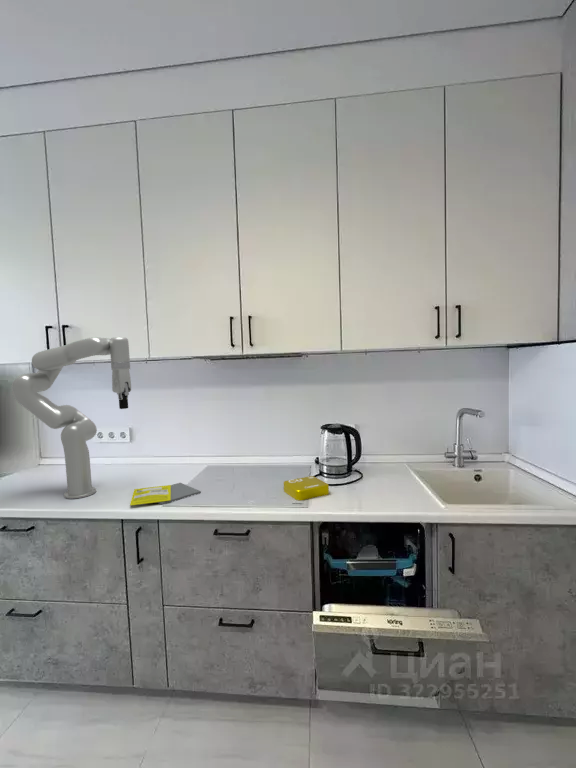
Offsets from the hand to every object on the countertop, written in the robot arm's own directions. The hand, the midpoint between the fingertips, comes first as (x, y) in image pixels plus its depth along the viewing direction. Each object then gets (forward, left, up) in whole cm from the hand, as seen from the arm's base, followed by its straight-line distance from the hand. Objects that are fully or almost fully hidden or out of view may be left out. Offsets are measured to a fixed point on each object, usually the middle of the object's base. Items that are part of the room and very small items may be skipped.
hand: (123, 408), depth 174 cm
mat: (+17, +11, -37) cm, 42 cm away
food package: (+6, +8, -36) cm, 37 cm away
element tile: (+60, +50, -38) cm, 86 cm away
